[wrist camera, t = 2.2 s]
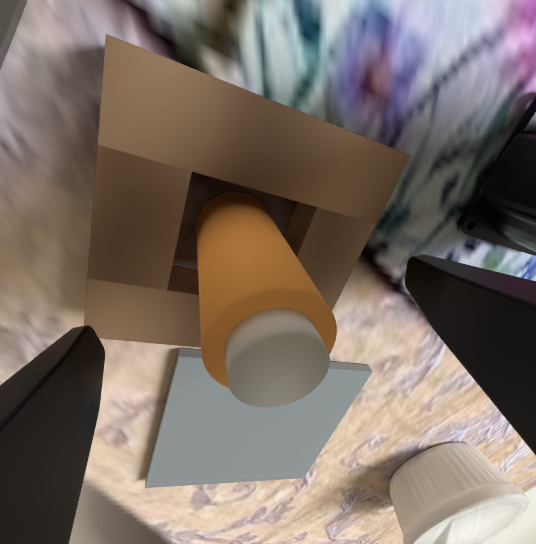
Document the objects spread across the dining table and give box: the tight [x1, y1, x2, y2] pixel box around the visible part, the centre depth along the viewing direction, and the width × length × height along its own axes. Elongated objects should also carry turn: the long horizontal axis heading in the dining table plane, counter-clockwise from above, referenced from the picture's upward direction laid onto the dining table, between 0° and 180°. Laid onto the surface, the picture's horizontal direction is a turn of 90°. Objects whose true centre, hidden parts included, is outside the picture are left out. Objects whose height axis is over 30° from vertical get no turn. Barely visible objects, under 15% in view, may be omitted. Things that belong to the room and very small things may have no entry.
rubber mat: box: [145, 348, 372, 488], centre depth 20 cm, size 12×12×1 cm
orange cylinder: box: [197, 192, 337, 408], centre depth 10 cm, size 3×3×8 cm
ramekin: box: [389, 442, 530, 544], centre depth 28 cm, size 11×11×5 cm
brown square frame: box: [84, 34, 410, 347], centre depth 12 cm, size 10×10×2 cm
